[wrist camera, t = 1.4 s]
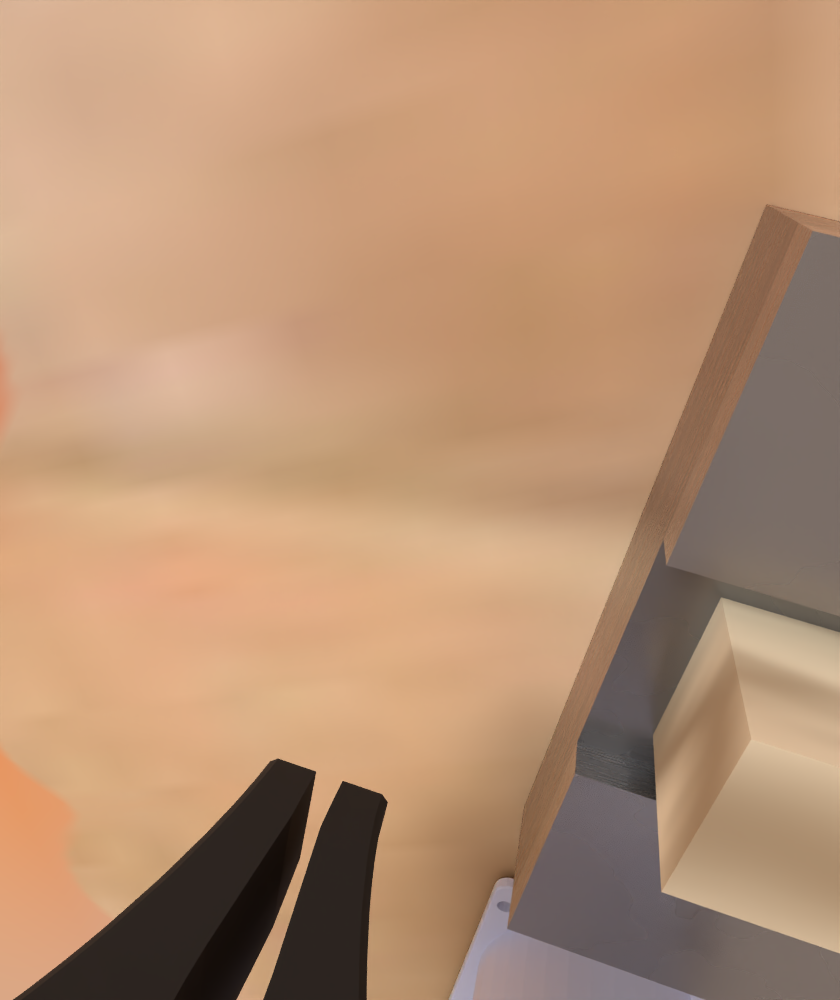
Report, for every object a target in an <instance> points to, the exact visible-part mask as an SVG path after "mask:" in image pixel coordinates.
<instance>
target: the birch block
mask: <svg viewBox="0 0 840 1000" xmlns="http://www.w3.org/2000/svg"><path fill="white" fill-rule="evenodd" d="M653 745H654V764H655V783H656V802H657V821H658V839H659V858H660V877H661V892H663V893H665V894H668V895H671V896H674V897H677V898H680V899H683V900H686V901H689V902H692V903H695V904H697V905H700V906H703V907H706V908H709V909H712V910H715V911H718V912H721V913H724V914H726V915H729V916H732V917H735V918H738V919H741V920H744V921H747V922H750V923H753V924H756V925H758V926H761V927H764V928H767V929H770V930H773V931H776V932H779V933H782V934H785V935H788V936H790V937H793V938H796V939H799V940H802V941H805V942H808V943H811V944H814V945H817V946H819V947H822V948H825V949H828V950H831V951H834V952H837V953H840V632H837V631H833V630H830V629H827V628H823V627H820V626H816V625H813V624H810V623H806V622H803V621H800V620H796V619H793V618H789V617H786V616H783V615H779V614H776V613H773V612H769V611H766V610H762V609H759V608H756V607H752V606H749V605H746V604H742V603H739V602H735V601H732V600H729V599H725V598H722V597H721V599H720V601H719V603H718V605H717V607H716V609H715V611H714V613H713V615H712V617H711V619H710V621H709V623H708V625H707V627H706V629H705V631H704V633H703V635H702V637H701V639H700V641H699V643H698V645H697V647H696V649H695V651H694V653H693V655H692V657H691V659H690V661H689V663H688V665H687V667H686V669H685V671H684V674H683V676H682V678H681V680H680V682H679V684H678V686H677V688H676V690H675V692H674V694H673V696H672V698H671V700H670V702H669V704H668V706H667V708H666V710H665V712H664V714H663V716H662V718H661V720H660V722H659V724H658V726H657V728H656V730H655V732H654V734H653Z"/></svg>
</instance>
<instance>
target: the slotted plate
mask: <svg viewBox="0 0 840 1000" xmlns="http://www.w3.org/2000/svg"><path fill="white" fill-rule="evenodd" d="M721 597H722V598H725V599H729V600H732V601H735V602H739V603H742V604H746V605H749V606H752V607H756V608H759V609H762V610H766V611H769V612H773V613H776V614H779V615H783V616H786V617H789V618H793V619H796V620H800V621H803V622H806V623H810V624H813V625H816V626H820V627H823V628H827V629H830V630H833V631H837V632H840V222H839V221H835V220H831V219H827V218H822V217H818V216H814V215H810V214H805V213H801V212H797V211H793V210H788V209H784V208H780V207H776V206H771V205H766V207H765V210H764V212H763V215H762V217H761V220H760V222H759V225H758V227H757V230H756V232H755V235H754V237H753V240H752V242H751V245H750V247H749V250H748V252H747V255H746V257H745V260H744V262H743V265H742V267H741V270H740V272H739V274H738V277H737V279H736V282H735V284H734V287H733V289H732V292H731V294H730V297H729V299H728V302H727V304H726V307H725V309H724V312H723V314H722V317H721V319H720V322H719V324H718V327H717V329H716V332H715V334H714V337H713V339H712V342H711V344H710V347H709V349H708V352H707V354H706V357H705V359H704V362H703V364H702V367H701V369H700V372H699V374H698V376H697V379H696V381H695V384H694V386H693V389H692V391H691V394H690V396H689V399H688V401H687V404H686V406H685V409H684V411H683V414H682V416H681V419H680V421H679V424H678V426H677V429H676V431H675V434H674V436H673V439H672V441H671V444H670V446H669V449H668V451H667V454H666V456H665V459H664V461H663V464H662V466H661V469H660V471H659V474H658V476H657V478H656V481H655V483H654V486H653V488H652V491H651V493H650V496H649V498H648V501H647V503H646V506H645V508H644V511H643V513H642V516H641V518H640V521H639V523H638V526H637V528H636V531H635V533H634V536H633V538H632V541H631V543H630V546H629V548H628V551H627V553H626V556H625V558H624V561H623V563H622V566H621V568H620V571H619V573H618V576H617V578H616V580H615V583H614V585H613V588H612V590H611V593H610V595H609V598H608V600H607V603H606V605H605V608H604V610H603V613H602V615H601V618H600V620H599V623H598V625H597V628H596V630H595V633H594V635H593V638H592V640H591V643H590V645H589V648H588V650H587V653H586V655H585V658H584V660H583V663H582V665H581V668H580V670H579V673H578V675H577V678H576V680H575V682H574V685H573V687H572V690H571V692H570V695H569V697H568V700H567V702H566V705H565V707H564V710H563V712H562V715H561V717H560V720H559V722H558V725H557V727H556V730H555V732H554V735H553V737H552V740H551V742H550V745H549V747H548V750H547V752H546V755H545V757H544V760H543V762H542V765H541V767H540V770H539V772H538V775H537V777H536V780H535V782H534V784H533V787H532V789H531V792H530V794H529V797H528V799H527V802H526V804H525V807H524V812H523V819H522V826H521V833H520V840H519V847H518V854H517V862H516V869H515V876H514V883H513V890H512V897H511V904H510V912H509V919H508V926H507V929H509V930H512V931H514V932H517V933H520V934H523V935H525V936H528V937H531V938H534V939H537V940H539V941H542V942H545V943H548V944H551V945H553V946H556V947H559V948H562V949H565V950H567V951H570V952H573V953H576V954H579V955H581V956H584V957H587V958H590V959H593V960H595V961H598V962H601V963H604V964H606V965H609V966H612V967H615V968H618V969H620V970H623V971H626V972H629V973H632V974H634V975H637V976H640V977H643V978H646V979H648V980H651V981H654V982H657V983H660V984H662V985H665V986H668V987H671V988H673V989H676V990H679V991H682V992H685V993H687V994H690V995H693V996H696V997H699V998H701V999H704V1000H840V953H837V952H834V951H831V950H828V949H825V948H822V947H819V946H817V945H814V944H811V943H808V942H805V941H802V940H799V939H796V938H793V937H790V936H788V935H785V934H782V933H779V932H776V931H773V930H770V929H767V928H764V927H761V926H758V925H756V924H753V923H750V922H747V921H744V920H741V919H738V918H735V917H732V916H729V915H726V914H724V913H721V912H718V911H715V910H712V909H709V908H706V907H703V906H700V905H697V904H695V903H692V902H689V901H686V900H683V899H680V898H677V897H674V896H671V895H668V894H665V893H663V892H661V877H660V858H659V839H658V821H657V802H656V783H655V764H654V745H653V734H654V732H655V730H656V728H657V726H658V724H659V722H660V720H661V718H662V716H663V714H664V712H665V710H666V708H667V706H668V704H669V702H670V700H671V698H672V696H673V694H674V692H675V690H676V688H677V686H678V684H679V682H680V680H681V678H682V676H683V674H684V671H685V669H686V667H687V665H688V663H689V661H690V659H691V657H692V655H693V653H694V651H695V649H696V647H697V645H698V643H699V641H700V639H701V637H702V635H703V633H704V631H705V629H706V627H707V625H708V623H709V621H710V619H711V617H712V615H713V613H714V611H715V609H716V607H717V605H718V603H719V601H720V599H721Z"/></svg>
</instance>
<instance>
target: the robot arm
mask: <svg viewBox="0 0 840 1000" xmlns="http://www.w3.org/2000/svg"><path fill="white" fill-rule="evenodd" d="M315 775H316V772H315V771H312V770H310V769H307V768H304V767H301V766H298V765H295V764H292V763H289V762H286V761H283V760H280V759H276V760H273V761H270V762H269V763H268V765H267V766H266V767H265V769H264V770H263V771H262V772H261V774H260V775H259V776H258V777H257V778H256V780H255V781H254V782H253V783H252V784H251V785H250V787H249V788H248V789H247V790H246V791H245V792H244V794H243V795H242V796H241V797H240V798H239V799H238V800H237V801H236V802H235V804H234V805H233V806H232V807H231V808H230V809H229V810H228V811H227V812H226V813H225V814H224V815H223V816H222V817H221V818H220V819H219V821H218V822H217V823H216V824H215V825H214V826H213V827H212V828H211V829H210V830H209V831H208V832H207V833H206V834H205V835H204V836H203V837H202V838H201V839H200V840H199V841H198V842H197V843H196V844H195V845H194V846H193V847H192V848H191V849H190V850H189V851H188V852H187V853H186V854H185V855H184V856H183V857H182V858H181V859H180V860H179V861H177V862H176V863H175V864H174V865H173V866H172V867H171V868H170V869H169V870H168V871H167V872H166V873H165V874H164V875H163V876H162V877H161V878H160V879H159V880H158V881H157V882H155V883H154V884H153V885H152V886H151V887H150V888H149V889H148V890H146V891H145V892H144V893H143V894H142V895H141V896H140V897H139V898H137V899H136V900H135V901H134V902H133V903H132V904H131V905H130V906H128V907H127V908H126V909H125V910H124V911H123V912H122V913H121V914H119V915H118V916H117V917H116V918H115V919H114V920H113V921H112V922H110V923H109V924H108V925H107V926H106V927H105V928H103V929H102V930H101V931H100V932H99V933H97V934H96V935H95V936H94V937H93V938H91V940H89V941H88V942H87V943H85V944H84V945H83V946H82V947H81V948H79V949H78V950H77V951H76V952H74V953H73V954H72V955H71V956H70V957H68V958H67V959H66V960H64V961H63V962H62V963H61V964H59V965H58V966H57V967H56V968H54V969H53V970H52V971H50V972H49V973H48V974H47V975H46V976H44V977H43V978H41V979H40V980H39V981H38V982H36V983H35V984H34V985H32V986H31V987H30V988H29V989H27V990H26V991H24V992H23V993H22V994H20V995H19V996H18V997H16V998H15V999H14V1000H236V999H237V997H238V995H239V993H240V991H241V989H242V987H243V985H244V983H245V981H246V979H247V978H248V976H249V974H250V972H251V970H252V968H253V966H254V964H255V962H256V960H257V958H258V956H259V954H260V952H261V950H262V948H263V946H264V944H265V942H266V940H267V938H268V936H269V934H270V932H271V930H272V928H273V925H274V923H275V920H276V918H277V915H278V913H279V910H280V908H281V905H282V902H283V900H284V897H285V895H286V892H287V890H288V887H289V885H290V882H291V880H292V877H293V874H294V872H295V869H296V867H297V864H298V862H299V859H300V855H301V850H302V844H303V839H304V834H305V828H306V823H307V818H308V812H309V807H310V802H311V796H312V791H313V786H314V780H315ZM387 803H388V802H387V801H386V799H385V798H384V796H383V795H382V794H379V793H376V792H373V791H371V790H368V789H365V788H362V787H359V786H356V785H353V784H350V783H347V782H344V781H343V782H342V784H341V786H340V788H339V790H338V792H337V794H336V796H335V798H334V800H333V802H332V804H331V806H330V808H329V810H328V812H327V815H326V817H325V819H324V821H323V823H322V825H321V828H320V831H319V834H318V837H317V840H316V843H315V846H314V849H313V852H312V855H311V858H310V861H309V864H308V867H307V870H306V874H305V877H304V880H303V883H302V886H301V889H300V892H299V895H298V898H297V901H296V904H295V907H294V911H293V914H292V917H291V920H290V923H289V926H288V929H287V932H286V935H285V938H284V941H283V944H282V948H281V951H280V954H279V957H278V960H277V963H276V966H275V969H274V972H273V975H272V978H271V980H270V983H269V986H268V988H267V991H266V994H265V997H264V999H263V1000H367V952H368V930H369V911H370V898H371V887H372V878H373V870H374V861H375V855H376V848H377V842H378V837H379V833H380V830H381V826H382V822H383V818H384V815H385V811H386V807H387ZM513 883H514V879H513V878H509V877H508V878H501V879H499V880H498V881H497V882H496V883H495V885H494V888H493V890H492V893H491V895H490V898H489V900H488V903H487V905H486V908H485V910H484V913H483V915H482V918H481V920H480V923H479V925H478V928H477V930H476V933H475V935H474V937H473V940H472V942H471V945H470V947H469V950H468V952H467V955H466V957H465V960H464V962H463V965H462V967H461V970H460V972H459V975H458V977H457V980H456V982H455V985H454V987H453V989H452V992H451V994H450V997H449V999H448V1000H704V999H701V998H699V997H696V996H693V995H690V994H687V993H685V992H682V991H679V990H676V989H673V988H671V987H668V986H665V985H662V984H660V983H657V982H654V981H651V980H648V979H646V978H643V977H640V976H637V975H634V974H632V973H629V972H626V971H623V970H620V969H618V968H615V967H612V966H609V965H606V964H604V963H601V962H598V961H595V960H593V959H590V958H587V957H584V956H581V955H579V954H576V953H573V952H570V951H567V950H565V949H562V948H559V947H556V946H553V945H551V944H548V943H545V942H542V941H539V940H537V939H534V938H531V937H528V936H525V935H523V934H520V933H517V932H514V931H512V930H509V929H507V926H508V919H509V912H510V904H511V897H512V890H513Z"/></svg>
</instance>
